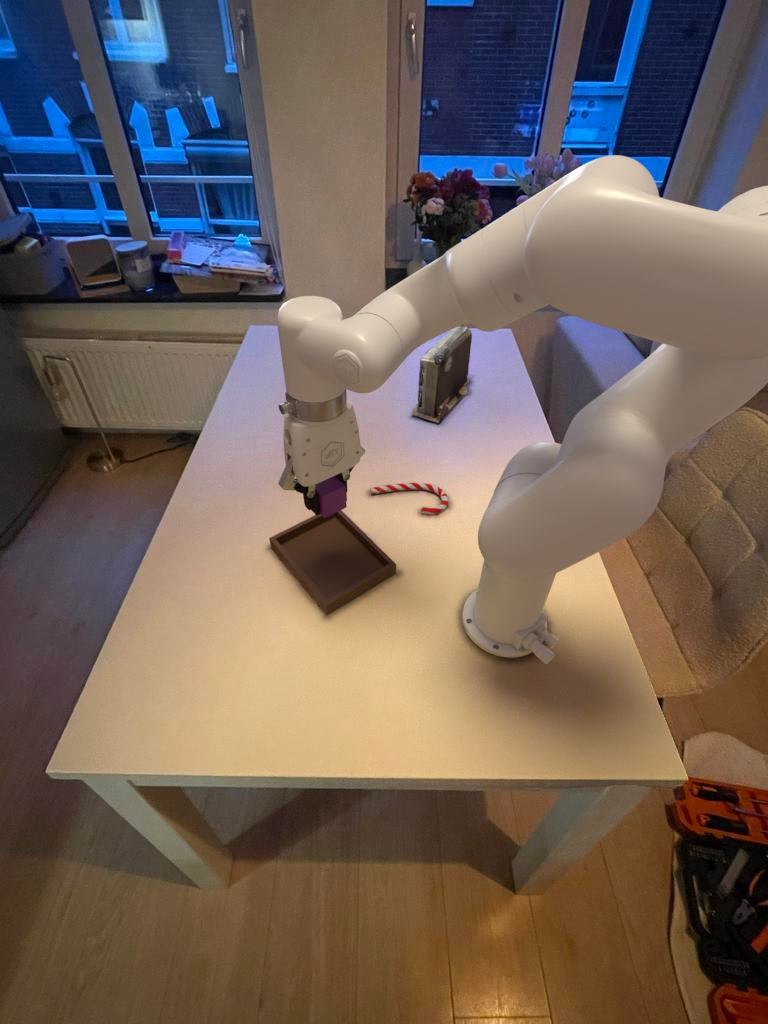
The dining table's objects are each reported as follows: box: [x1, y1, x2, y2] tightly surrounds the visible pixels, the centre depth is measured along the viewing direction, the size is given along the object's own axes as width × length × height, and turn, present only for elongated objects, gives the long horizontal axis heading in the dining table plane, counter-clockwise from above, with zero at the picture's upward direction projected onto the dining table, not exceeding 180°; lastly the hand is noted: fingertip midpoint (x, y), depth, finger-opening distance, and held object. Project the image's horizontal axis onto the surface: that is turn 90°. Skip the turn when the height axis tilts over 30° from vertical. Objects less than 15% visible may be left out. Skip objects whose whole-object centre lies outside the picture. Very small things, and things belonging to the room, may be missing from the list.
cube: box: [315, 476, 348, 518], centre depth 79 cm, size 5×4×4 cm
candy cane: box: [369, 482, 449, 515], centre depth 99 cm, size 8×1×15 cm
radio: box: [411, 324, 473, 423], centre depth 120 cm, size 23×9×15 cm, turn 146°
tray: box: [268, 509, 397, 616], centre depth 88 cm, size 18×14×2 cm
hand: (326, 502), depth 80 cm, fingers closed on cube, 4 cm apart
